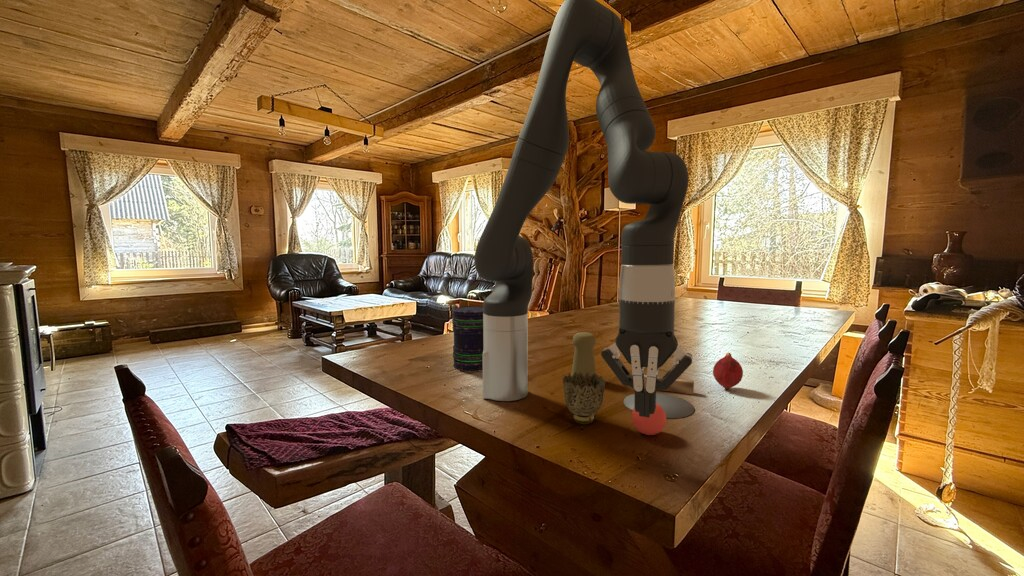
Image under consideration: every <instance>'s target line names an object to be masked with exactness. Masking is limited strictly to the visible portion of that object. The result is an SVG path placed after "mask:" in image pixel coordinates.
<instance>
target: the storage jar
mask: <svg viewBox="0 0 1024 576" xmlns="http://www.w3.org/2000/svg"><path fill="white" fill-rule="evenodd" d="M451 325H452V332H453V346H452V351H453V352H452V358H453V359H452V361H453V364H452V365H453V367H454V368H455V369H454V370H456V369H457V370H456V371H459V370H461V371H460V372H466V371H475V372H480V371H479V370H482V371H483V306H480V305H478V306H475V305H474V306H473V305H469V306H457V307H454V308H452V322H451Z"/></svg>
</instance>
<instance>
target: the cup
mask: <svg viewBox="0 0 1024 576" xmlns="http://www.w3.org/2000/svg"><path fill="white" fill-rule="evenodd" d="M589 375H590V374H589V373H588V372H587V373H586V374H585V376H584V375H583V374H582V373H581V372H579V373H578V374H577V373H576V372H575V373H574V375H573V376H571V374H570V373H568V375H565V374H563V377H562V383H563V386H562V387H563V393H564V400H565V404H566V407H567V409H568V410H569V411H570V412H571V413H572V418H573V421H574V422H575V423H577V424H580V425H589V424H591V423H592V422H594V419H595V417H594V415H595V414H597V413H598V412H599V411H600V410H601V407H602V405H603V401H604V393H605V387H606V378H605V379H604V377H603V375H598V374H597V372H596V373H594V374H593V375H591V376H589Z"/></svg>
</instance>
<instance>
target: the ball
mask: <svg viewBox="0 0 1024 576" xmlns="http://www.w3.org/2000/svg"><path fill="white" fill-rule="evenodd" d="M631 421H632V424H633V426H634V428H635V429H636V430H637V431H638V432H639V433H641V434H643V435H645V436H655V435H658V434H659V433H661V432H662V431H664V428H665V427H666V423H667V418H666V414H665V411H664V410H663V408H662V407H661V406H660V405H659V404H657V403H656V409H655V412H654V414H651V415H650V418H648V417H645V416H644V417H642V416H639V412H636V411H635V407H634V409H633V411H632V410H631Z"/></svg>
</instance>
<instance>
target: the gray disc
mask: <svg viewBox="0 0 1024 576" xmlns="http://www.w3.org/2000/svg"><path fill="white" fill-rule="evenodd" d="M656 403H657V404H659V405H660V406H661V407H662V408H663V410H664V411H665V414H666V419H679V418H680V419H682V418H686V417H689V416H691V415H692V414H693V413H694V412H695V408H694V405H693V404H692V403H690V401H687V400H686V399H683V398H681V397H678V396H675V395H671V394H665V393H660V392H656ZM623 405H624V406H625V407H626V408H628V410H630V411H631V412H632V411H633V409H634V407H635V393H632V394H630V395H629V394H628V395H627V396H626V397H625V398H624V399H623Z"/></svg>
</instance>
